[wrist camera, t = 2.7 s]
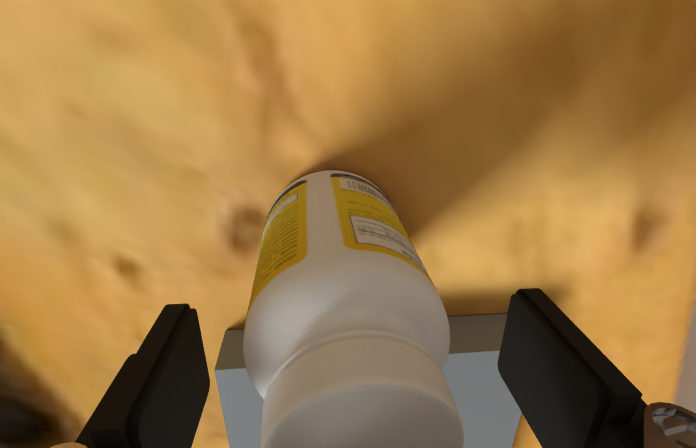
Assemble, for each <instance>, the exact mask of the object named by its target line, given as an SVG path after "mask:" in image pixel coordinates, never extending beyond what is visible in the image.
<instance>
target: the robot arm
mask: <svg viewBox="0 0 696 448" xmlns="http://www.w3.org/2000/svg"><path fill="white" fill-rule="evenodd" d="M497 364H498V371H499V373H500V376H501V377H502V379H503V381H504V382H505V384H506V386H507V388H508V389H509V391H510V393H511V394H512V396H513V398H514V400H515V401H516V403H517V405H518V406H519V408H520V410H521V412H522V413H523V415H524V417H525V419H526V420H527V422H528V424H529V425H530V427H531V429H532V431H533V432H534V434H535V436H536V437H537V439H538V441H539V443H540V444H541V446H542V448H696V413H694V412H692V411H690V410H687V409H685V408H683V407H680V406H677V405H674V404H671V403H663V402H657V403H651V404H650V405H647V404H646V403H645V402H644V401H643V400H642V399H641V396H642V393H641V392H640V391H639V390H638V389H637V388H636V387H635V386H634V385H633V384H632V383H631V382H630V381H629V380H628V379H627V378H626V377H625V376H624V375H623V374H622V373H621V372H620V371H619V370H618V368H617V367H616V366H615V365H614V364H613V363H612V362H611V361H610V360H609V359H608V358H607V357H606V356H605V355H604V354H603V353H602V352H601V351H600V350H599V349H598V348H597V347H596V346H595V345H594V344H593V343H592V342H591V341H590V340H589V339H588V338H587V337H586V335H585V334H584V333H583V332H582V331H581V330H580V329H579V328H578V327H577V326H576V325H575V324H574V323H573V322H572V321H571V320H570V319H569V318H568V317H567V316H566V315H565V314H564V313H563V312H562V311H561V310H560V309H559V308H558V307H557V306H556V305H555V304H554V302H553V301H552V300H551V299H550V298H549V297H548V296H547V295H546V294H545V293H544V292H543V291H542V290H540V289H538V288H532V289H519V290H518V291H517V292H516V294H513V295H512V296H511V300H510V304H509V309H508V314H507V319H506V324H505V328H504V333H503V338H502V343H501V348H500V353H499V357H498V363H497ZM209 387H210V379H209V373H208V368H207V363H206V357H205V352H204V347H203V342H202V337H201V331H200V326H199V321H198V316H197V311H196V309H194V308H193V309H190V306H189V305H188V304H168V305H166V306H165V307H164V308H163V310H162V312H161V313H160V315H159V317H158V318H157V320H156V322H155V323H154V325H153V326H152V328H151V330H150V331H149V333H148V335H147V336H146V338H145V340H144V341H143V343H142V345H141V346H140V348H139V350H138V351H137V353H136V354H132V355H130V356H129V357H128V358H127V360H126V361H125V363H124V364H123V366H122V367H121V369H120V371H119V372H118V374H117V376H116V377H115V379H114V380H113V382H112V384H111V385H110V387H109V388H108V390H107V392H106V393H105V395H104V396H103V398H102V400H101V401H100V403H99V404H98V406H97V408H96V409H95V411H94V413H93V414H92V416H91V417H90V419H89V421H88V422H87V424H86V425H85V427H84V429H83V430H82V432H81V433H80V435H79V437H78V438H77V440H76V441H75V443H64V444H60V445H55V446H53V447H51V448H191V446H192V443H193V440H194V437H195V434H196V430H197V427H198V424H199V421H200V418H201V415H202V411H203V408H204V405H205V402H206V399H207V396H208V392H209Z"/></svg>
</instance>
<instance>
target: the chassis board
mask: <svg viewBox="0 0 696 448" xmlns="http://www.w3.org/2000/svg"><path fill="white" fill-rule="evenodd" d="M507 314H508V313H504V314H488V315H471V316H455V317H447V318H448V322H449V327H450V347H449V353H448V357H447V360H446V363H445V366H444V368H443V370H442V373H443V374H444V376H445V378H446V381H447V383H448V386H449V389H450V391H451V394H452V397H453V399H454V402H455V404H456V407H457V409H458V412H459V414H460V417H461V420H462V424H463V430H464V444H463V448H512V444H513V441H514V438H515V434H516V431H517V427H518V424H519V421H520V417H521V414H522V412H521V410H520V408H519V406H518V405H517V403H516V401H515V400H514V398H513V396H512V394H511V393H510V391H509V389H508V388H507V386H506V384H505V382H504V381H503V379H502V377H501V376H500V373H499V371H498V364H497V363H498V357H499V353H500V348H501V343H502V338H503V333H504V328H505V324H506V319H507ZM244 330H245V329H239V330H226V331H225V335H224V338H223V342H222V345H221V349H220V352H219V356H218V359H217V363H216V367H215V370H214V371H215V376H216V381H217V386H218V391H219V396H220V401H221V406H222V411H223V416H224V421H225V426H226V431H227V436H228V441H229V447H230V448H260V441H261V426H262V408H263V402H264V399H263V398H262V397H261V395H260V394H259V393H258V391H257V390H256V388H255V386H254V385H253V383H252V381H251V379H250V377H249V375H248V372H247V369H246V366H245V361H244V356H243V338H244Z"/></svg>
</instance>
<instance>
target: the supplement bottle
mask: <svg viewBox="0 0 696 448" xmlns="http://www.w3.org/2000/svg"><path fill="white" fill-rule="evenodd" d="M449 347H450V327H449V322H448V318H447V314H446V311H445V308H444V305H443V303H442V300H441V298H440V296H439V294H438V292H437V290H436V288H435V286H434V284H433V282H432V281H431V279H430V277H429V275H428V273H427V271H426V269H425V267H424V266H423V264H422V262H421V260H420V258H419V256H418V254H417V252H416V250H415V248H414V246H413V244H412V243H411V241H410V239H409V237H408V235H407V233H406V231H405V229H404V228H403V226H402V224H401V222H400V220H399V218H398V216H397V214H396V212H395V211H394V209H393V207H392V205H391V203H390V201H389V200H388V199H387V197H386V196H385V195H384V194H383V192H382V191H381V190H380V189H379V188H378V187H377V186H375V185H374V184H373V183H372V182H370V181H368V180H367V179H365V178H363V177H361V176H359V175H356V174H353V173H350V172H345V171H336V170H328V171H320V172H315V173H312V174H309V175H306V176H303V177H301V178H299V179H298V180H296V181H294V182H293V183H291V184H290V185H289V186H287V187H286V188H285V189H284V190H283V191H282V192H281V193H280V194H279V195H278V197H277V198H276V199H275V201H274V203H273V204H272V206H271V208H270V211H269V213H268V216H267V219H266V223H265V228H264V232H263V239H262V244H261V249H260V254H259V260H258V264H257V269H256V274H255V279H254V283H253V289H252V294H251V299H250V303H249V307H248V312H247V317H246V322H245V330H244V338H243V356H244V361H245V366H246V369H247V372H248V375H249V377H250V379H251V381H252V383H253V385H254V386H255V388H256V390H257V391H258V393H259V394H260V395H261V397H262V398H263V399H264V402H263V408H262V426H261V441H260V448H463V444H464V430H463V424H462V420H461V417H460V414H459V412H458V409H457V407H456V404H455V402H454V399H453V397H452V394H451V391H450V389H449V386H448V383H447V381H446V378H445V376H444V374H443V373H442V370H443V368H444V366H445V363H446V360H447V357H448V353H449Z"/></svg>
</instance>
